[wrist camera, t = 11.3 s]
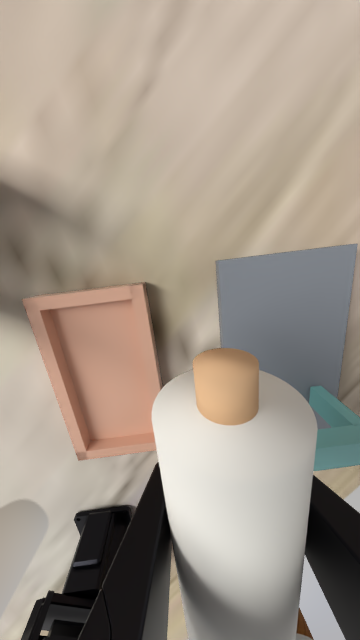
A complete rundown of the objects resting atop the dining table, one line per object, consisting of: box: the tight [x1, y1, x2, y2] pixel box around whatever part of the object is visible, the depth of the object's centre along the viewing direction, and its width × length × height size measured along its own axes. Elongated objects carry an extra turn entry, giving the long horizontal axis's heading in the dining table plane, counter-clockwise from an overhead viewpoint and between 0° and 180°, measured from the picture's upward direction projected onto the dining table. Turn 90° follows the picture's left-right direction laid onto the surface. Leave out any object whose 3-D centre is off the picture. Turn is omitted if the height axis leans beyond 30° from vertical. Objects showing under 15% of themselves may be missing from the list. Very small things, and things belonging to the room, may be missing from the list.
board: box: [216, 244, 357, 430], centre depth 19 cm, size 20×11×1 cm, turn 7°
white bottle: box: [152, 348, 318, 640], centre depth 6 cm, size 11×4×4 cm, turn 6°
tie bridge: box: [309, 386, 360, 471], centre depth 16 cm, size 2×7×6 cm, turn 97°
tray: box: [22, 282, 163, 461], centre depth 18 cm, size 16×9×2 cm, turn 7°
